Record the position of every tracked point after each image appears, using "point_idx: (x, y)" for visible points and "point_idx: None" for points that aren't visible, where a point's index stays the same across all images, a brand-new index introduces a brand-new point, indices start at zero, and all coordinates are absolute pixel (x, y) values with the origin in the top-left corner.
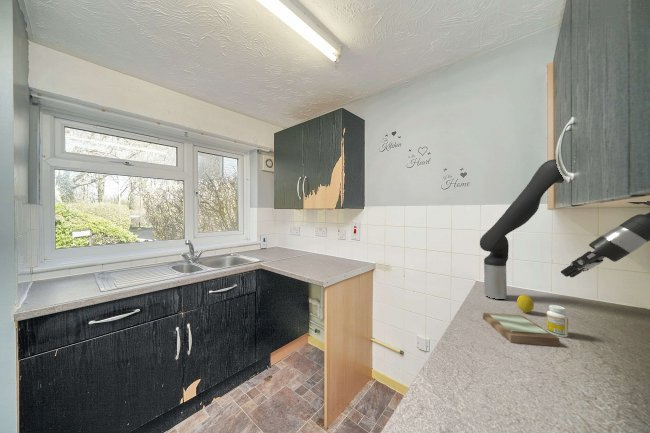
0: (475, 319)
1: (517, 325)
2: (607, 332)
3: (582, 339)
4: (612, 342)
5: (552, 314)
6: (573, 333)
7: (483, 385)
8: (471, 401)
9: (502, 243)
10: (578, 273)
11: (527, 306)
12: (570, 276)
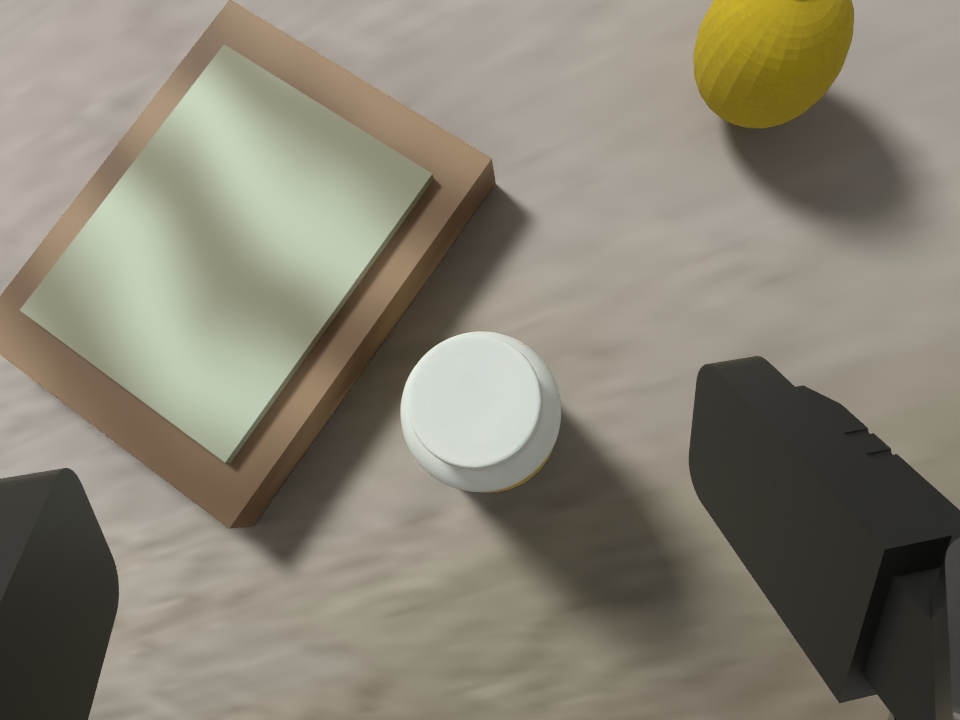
0: (184, 19)
1: (168, 276)
2: None
3: (552, 563)
4: (716, 698)
5: (405, 398)
6: (621, 485)
7: None
8: None
9: None
10: (776, 609)
11: (713, 94)
12: (692, 458)
